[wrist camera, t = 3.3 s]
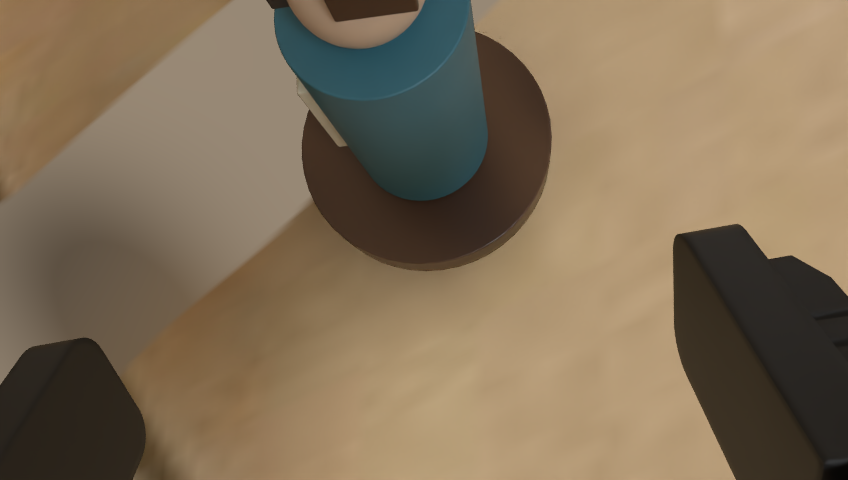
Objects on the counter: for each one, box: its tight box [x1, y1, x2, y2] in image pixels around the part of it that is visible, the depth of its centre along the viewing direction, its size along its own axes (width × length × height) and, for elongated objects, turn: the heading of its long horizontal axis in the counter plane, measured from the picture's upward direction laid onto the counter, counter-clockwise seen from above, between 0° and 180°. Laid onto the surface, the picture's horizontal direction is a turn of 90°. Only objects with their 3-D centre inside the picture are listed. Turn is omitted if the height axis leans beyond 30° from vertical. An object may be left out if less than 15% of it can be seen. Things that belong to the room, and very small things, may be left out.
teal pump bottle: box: [267, 0, 488, 201], centre depth 18 cm, size 5×4×11 cm
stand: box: [302, 32, 552, 271], centre depth 24 cm, size 9×9×2 cm
